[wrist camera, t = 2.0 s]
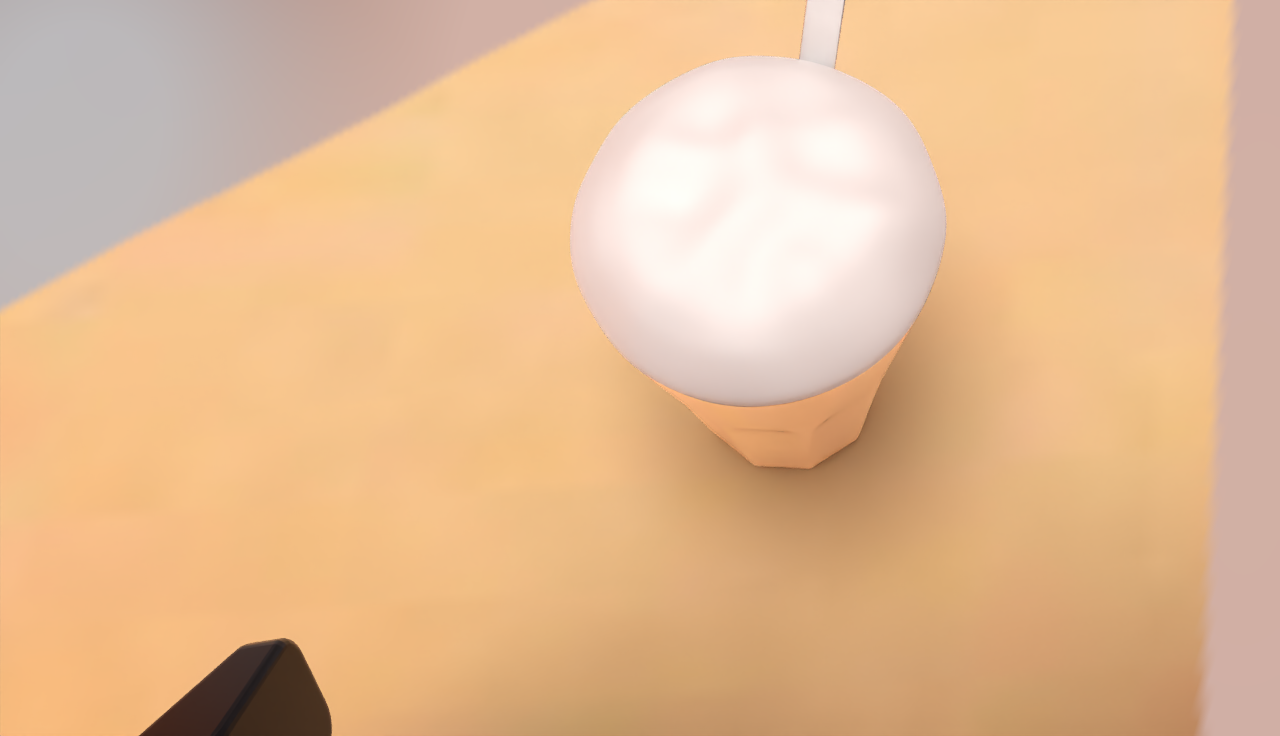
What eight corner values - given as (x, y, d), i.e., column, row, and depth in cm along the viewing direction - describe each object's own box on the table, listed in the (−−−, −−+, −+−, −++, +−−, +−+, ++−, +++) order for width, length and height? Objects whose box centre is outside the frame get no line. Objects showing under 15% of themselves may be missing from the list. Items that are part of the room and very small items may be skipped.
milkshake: (958, 279, 21) (1044, -40, 12) (860, 543, 21) (868, 421, 11) (736, 209, 23) (653, -132, 13) (633, 455, 22) (466, 277, 12)
